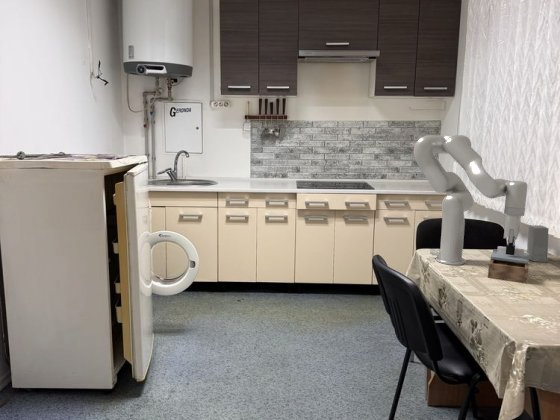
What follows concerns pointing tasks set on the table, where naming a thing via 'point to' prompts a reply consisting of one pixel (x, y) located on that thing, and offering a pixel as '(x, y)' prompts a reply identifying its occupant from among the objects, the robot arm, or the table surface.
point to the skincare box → (537, 243)
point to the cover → (517, 257)
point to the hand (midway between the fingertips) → (509, 254)
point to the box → (508, 271)
